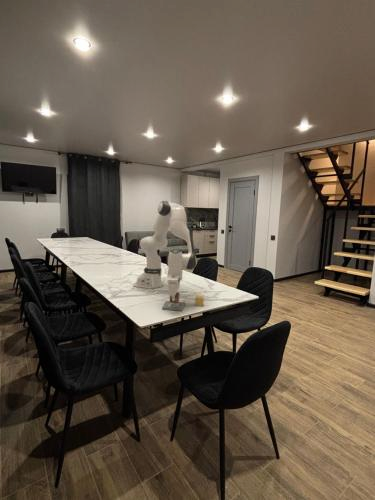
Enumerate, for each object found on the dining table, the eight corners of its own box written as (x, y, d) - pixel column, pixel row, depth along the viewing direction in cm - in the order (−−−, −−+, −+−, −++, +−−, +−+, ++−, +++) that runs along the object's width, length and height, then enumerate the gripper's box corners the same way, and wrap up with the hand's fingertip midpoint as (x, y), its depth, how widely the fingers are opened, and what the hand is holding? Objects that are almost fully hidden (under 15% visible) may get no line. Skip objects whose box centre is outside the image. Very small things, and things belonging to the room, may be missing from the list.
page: (166, 301, 172) (166, 301, 171) (168, 298, 178) (168, 297, 178) (182, 302, 170) (182, 302, 170) (183, 299, 177) (183, 298, 177)
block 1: (169, 302, 160) (169, 294, 159) (171, 299, 165) (171, 292, 164) (177, 303, 159) (178, 295, 159) (179, 300, 164) (179, 292, 164)
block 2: (194, 305, 166) (195, 297, 166) (195, 302, 171) (196, 295, 171) (202, 305, 166) (203, 298, 165) (203, 303, 171) (203, 295, 170)
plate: (162, 309, 157) (162, 307, 157) (166, 302, 169) (166, 300, 169) (182, 310, 156) (182, 308, 156) (184, 304, 168) (184, 302, 168)
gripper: (172, 272, 171) (172, 293, 172) (166, 280, 150) (166, 303, 152) (182, 273, 170) (181, 294, 172) (177, 280, 150) (177, 304, 152)
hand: (174, 298), depth 162 cm, fingers closed on block 1, 5 cm apart
